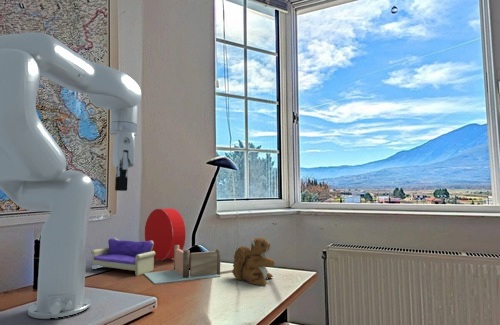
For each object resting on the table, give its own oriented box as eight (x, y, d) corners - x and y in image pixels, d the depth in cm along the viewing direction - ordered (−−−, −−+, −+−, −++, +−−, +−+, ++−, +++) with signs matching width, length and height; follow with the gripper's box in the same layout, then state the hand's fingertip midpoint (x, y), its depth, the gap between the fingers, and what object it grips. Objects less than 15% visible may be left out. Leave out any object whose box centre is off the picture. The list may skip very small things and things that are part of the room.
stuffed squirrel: (266, 286, 102) (267, 240, 103) (224, 281, 108) (224, 237, 109) (278, 279, 111) (278, 236, 112) (238, 274, 117) (238, 234, 118)
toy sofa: (89, 270, 119) (90, 239, 120) (108, 265, 127) (109, 236, 128) (138, 277, 111) (139, 244, 112) (155, 271, 119) (156, 240, 120)
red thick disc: (184, 262, 134) (186, 209, 136) (171, 264, 130) (173, 209, 131) (156, 254, 148) (157, 207, 149) (143, 256, 143) (145, 207, 145)
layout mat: (220, 276, 113) (220, 275, 113) (154, 284, 102) (154, 283, 102) (203, 267, 125) (203, 266, 125) (143, 274, 114) (143, 272, 114)
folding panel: (182, 275, 111) (182, 250, 112) (173, 269, 120) (173, 245, 121) (187, 275, 112) (187, 249, 112) (177, 268, 121) (178, 245, 121)
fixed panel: (221, 274, 115) (221, 248, 116) (183, 279, 109) (184, 251, 109) (218, 273, 117) (219, 247, 117) (181, 277, 110) (182, 250, 111)
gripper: (141, 127, 102) (139, 191, 100) (131, 134, 115) (129, 190, 113) (114, 124, 98) (111, 190, 97) (107, 132, 111) (104, 190, 110)
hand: (121, 190), depth 105 cm, fingers closed
